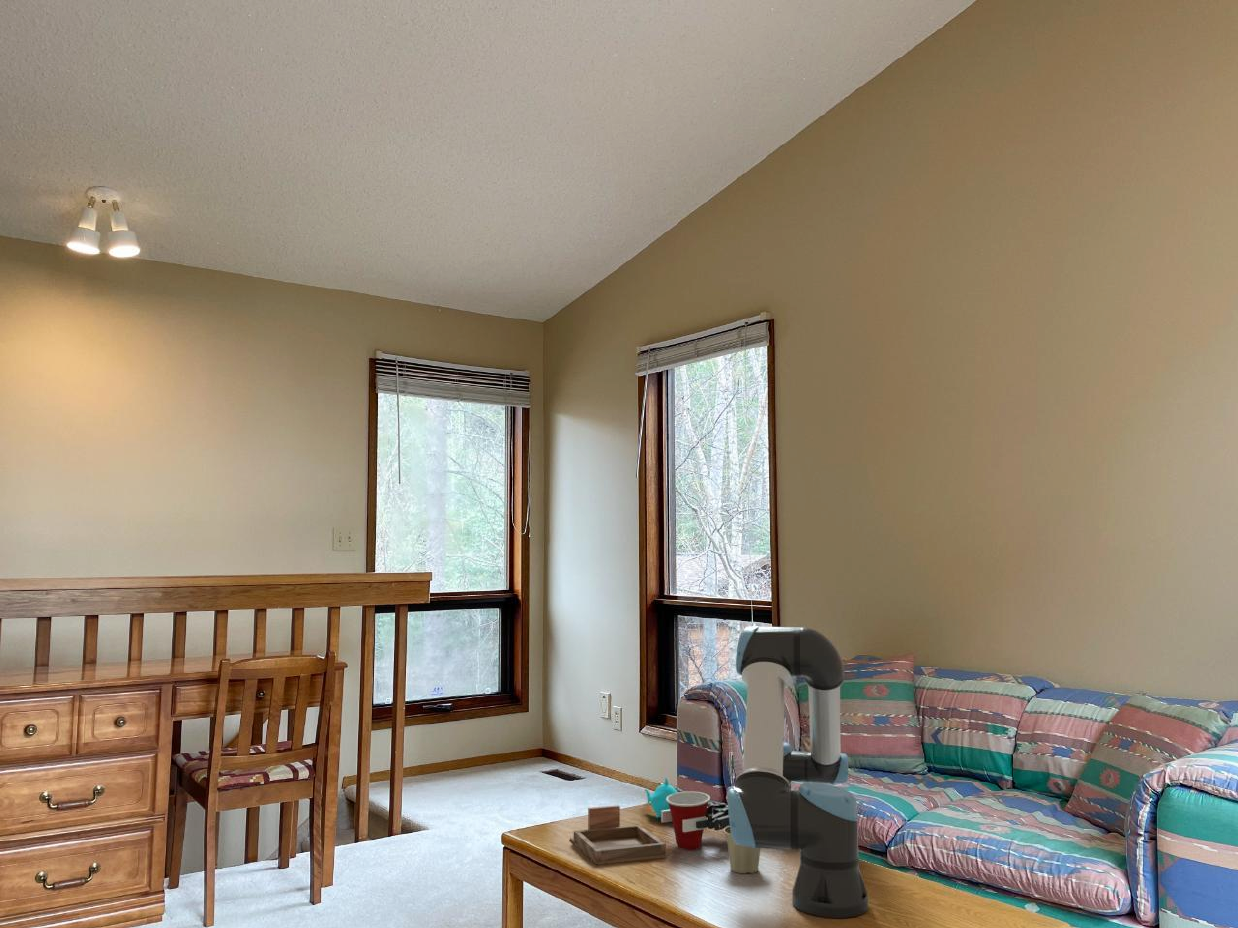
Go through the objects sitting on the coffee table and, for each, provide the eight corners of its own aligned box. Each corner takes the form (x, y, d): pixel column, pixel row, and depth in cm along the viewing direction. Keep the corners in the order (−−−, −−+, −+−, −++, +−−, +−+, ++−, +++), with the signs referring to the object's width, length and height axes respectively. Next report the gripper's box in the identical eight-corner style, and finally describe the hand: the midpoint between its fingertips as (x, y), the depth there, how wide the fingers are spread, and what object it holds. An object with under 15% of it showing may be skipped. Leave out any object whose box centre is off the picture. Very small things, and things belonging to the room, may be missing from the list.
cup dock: (665, 856, 226) (665, 824, 227) (596, 864, 221) (596, 830, 221) (634, 833, 246) (634, 803, 247) (569, 839, 240) (569, 808, 241)
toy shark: (673, 828, 251) (673, 786, 252) (631, 813, 265) (631, 773, 266) (701, 822, 256) (701, 781, 258) (658, 808, 271) (658, 769, 272)
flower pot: (764, 877, 212) (763, 837, 213) (721, 874, 214) (721, 834, 215) (766, 864, 221) (766, 825, 222) (725, 861, 223) (725, 823, 224)
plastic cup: (657, 846, 234) (656, 796, 236) (685, 837, 242) (685, 788, 243) (691, 856, 227) (691, 804, 228) (719, 846, 235) (719, 795, 236)
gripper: (774, 835, 235) (697, 848, 223) (721, 814, 253) (649, 826, 242) (773, 803, 235) (697, 815, 224) (721, 785, 254) (649, 795, 243)
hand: (672, 821), depth 233 cm, fingers closed on plastic cup, 9 cm apart
